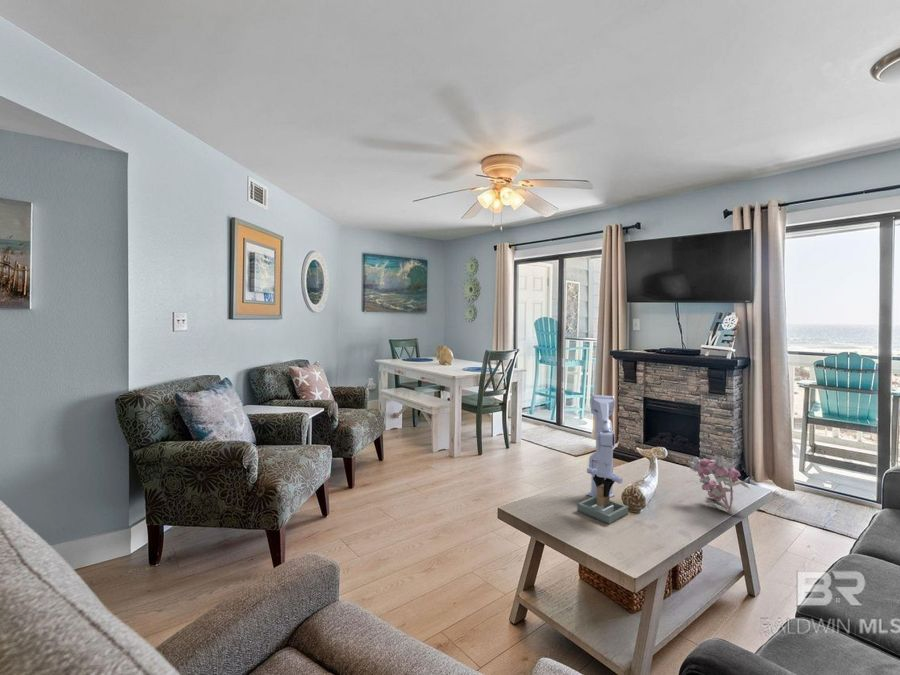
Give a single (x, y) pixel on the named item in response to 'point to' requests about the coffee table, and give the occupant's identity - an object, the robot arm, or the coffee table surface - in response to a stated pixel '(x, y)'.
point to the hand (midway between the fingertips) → (603, 495)
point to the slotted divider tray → (602, 510)
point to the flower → (717, 478)
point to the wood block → (602, 496)
